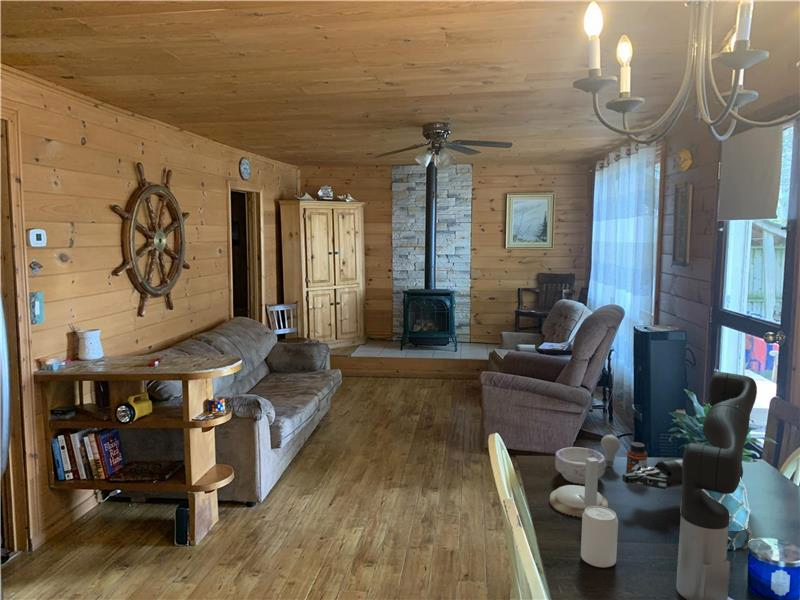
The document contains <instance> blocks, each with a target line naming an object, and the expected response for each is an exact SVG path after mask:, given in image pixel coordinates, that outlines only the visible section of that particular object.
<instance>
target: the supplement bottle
mask: <svg viewBox="0 0 800 600" xmlns="http://www.w3.org/2000/svg"><path fill="white" fill-rule="evenodd" d="M626 455H627V456H626V468H625V469H626V471H625V474H628V473H632V468H633V467H634V466H635V465H636V464H641V467H643V468H646V467H648V452H647V451H646V450H645V444H644V443H642V442H636V441H633V442H631V444H630V448H629V449H628V450H627V453H626Z"/></svg>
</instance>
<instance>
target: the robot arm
mask: <svg viewBox="0 0 800 600" xmlns="http://www.w3.org/2000/svg"><path fill="white" fill-rule="evenodd" d="M708 385H709V386H708V405H709V404H710V405H711V406H712V407H711V408H710V407H709V410H708V411H707V413H706V416H705V417H704V421H703V425H702V431H703V435H704V437H705V439H706V441H707V442H708V443H709V445H705V444H701V443H692V442H691V443H688V444H687V445H686V446H685V448H684V451H683V455H682V459H670V460H660V461H658V462H657V463H656V464H655V465H654V466H647V467H646V468H643V467H641V464H636V465H635V466H634V467H633V468H632V473H628V474H626V473H623V474H622V476H621V477H622V478H621V479H622V482H623V483H625V484H633V483H637V484H641V485H642V486H645V487H649V488H656V489H662V490H666V489H670V488H671V489H672V488H680V487H681V489H682V490H681V509H680V522H679V540H678V553H677V567H676V569H677V570H676V583H675V584H676V591H677V593H678V594H679V595H680V596H681V597H683V598H684V599H686V600H728V599H729V597H728V594H729V585H730V583H729V582H730V581H729V580H730V571H731V570H730V569H731V562H730V561H729V560H728V559H727V555H728V554H727V553H728V544H729V543H728V542H729V541H728V540H729V531H730V530H729V528H730V512H729V509H727V507H726V506H725V505H724V504H722V503H721V502H720V501H718V500H715V498H713V497H711V496H710V495H708V494H707V493H706V492H705V491H709V492H712V493H713V492H714V493H717V494H718V493H719V494H722V495H723V494H725V495H730V494H733V493H735V491H737V489H738V487H739V484H740V482H741V481H740V477H741V480H742V479H743V475H744V468H743V453H744V447H745V444H746V440H747V437H748V432H749V428H750V419H751V413H752V411H753V408H754V405H755V403H756V400H757V395H758V388H757V387H758V386H757V382H756V381H755V379H754V378H752V377H750V376H747V375H742V374H737V373H731V372H730V373H729V372H723V371H717V372H714V373H713V374H712V375H711V378H710V379H709V384H708ZM730 398H731V399H730ZM737 406H738V407H737ZM704 490H705V491H704Z"/></svg>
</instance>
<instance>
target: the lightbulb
mask: <svg viewBox="0 0 800 600" xmlns="http://www.w3.org/2000/svg"><path fill="white" fill-rule="evenodd" d="M600 447H601V449H602V451H603V453H604V457H605V466H607V467H608V468H610V467H614V461H615V459H616V455H617V453H618V452H619V449H620V448H621V442H620V440H619V439H618V437H617V436H615V435H613V434H606V435H604V436H603V437H602V438H601V441H600Z"/></svg>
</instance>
